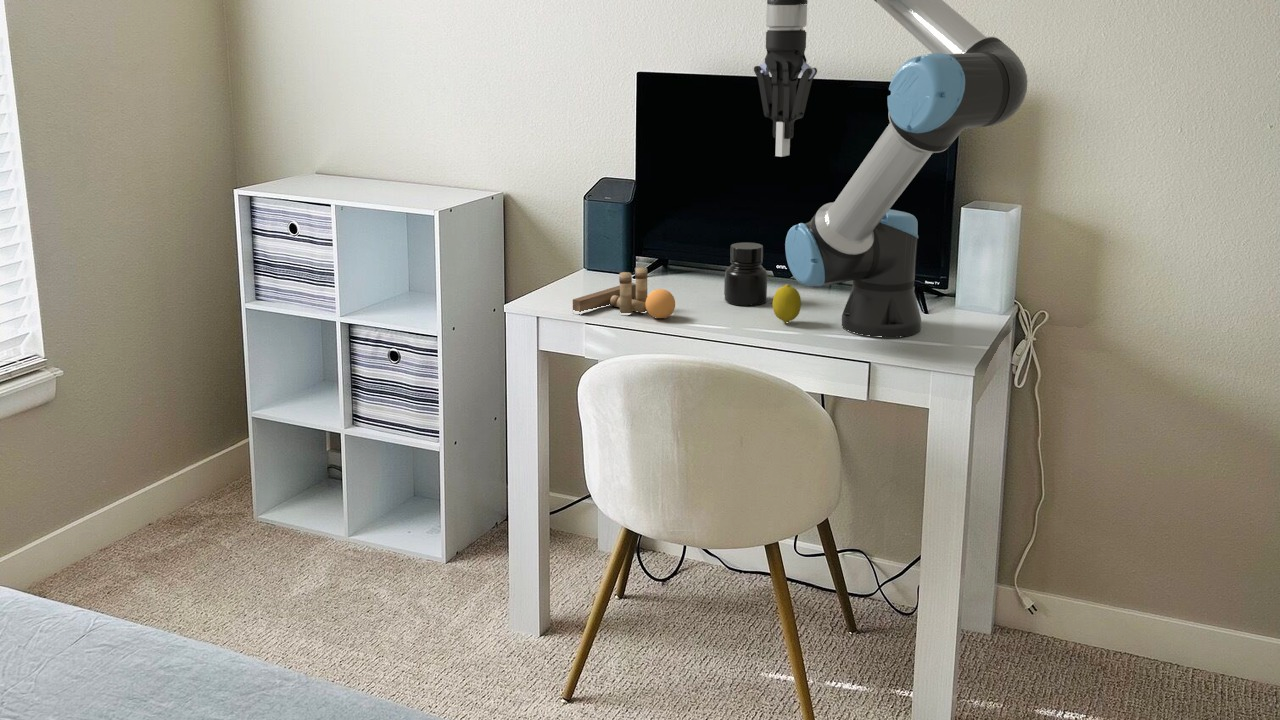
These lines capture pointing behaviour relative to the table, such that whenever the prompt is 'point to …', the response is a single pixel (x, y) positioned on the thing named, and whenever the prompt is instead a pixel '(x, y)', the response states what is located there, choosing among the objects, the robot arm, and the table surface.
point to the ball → (660, 303)
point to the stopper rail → (598, 298)
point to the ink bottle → (746, 275)
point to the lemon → (786, 303)
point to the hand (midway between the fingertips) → (782, 155)
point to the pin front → (636, 304)
